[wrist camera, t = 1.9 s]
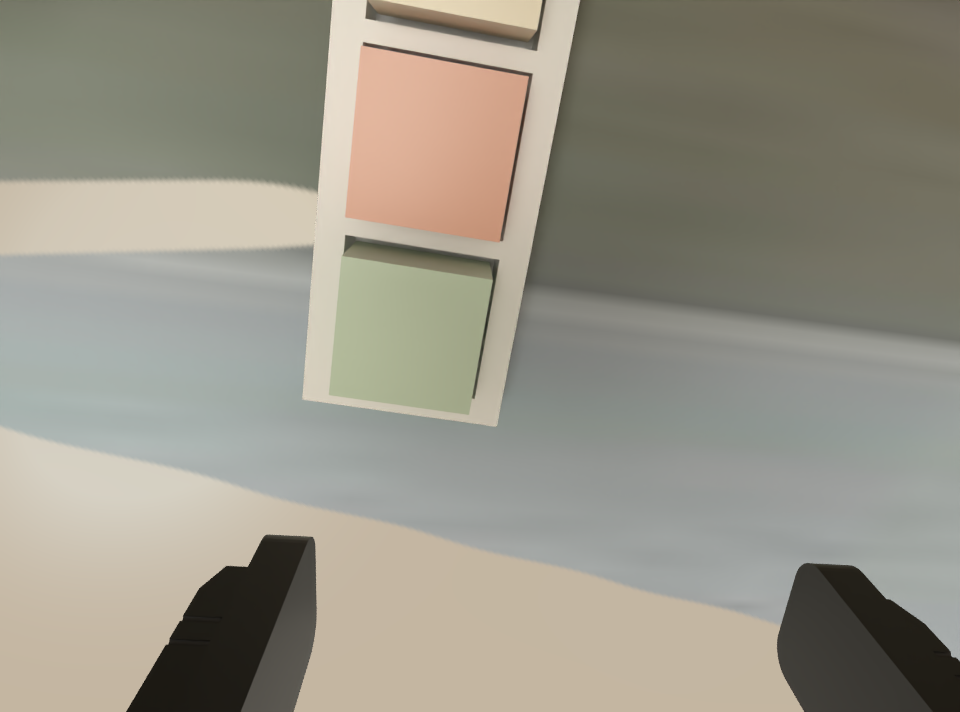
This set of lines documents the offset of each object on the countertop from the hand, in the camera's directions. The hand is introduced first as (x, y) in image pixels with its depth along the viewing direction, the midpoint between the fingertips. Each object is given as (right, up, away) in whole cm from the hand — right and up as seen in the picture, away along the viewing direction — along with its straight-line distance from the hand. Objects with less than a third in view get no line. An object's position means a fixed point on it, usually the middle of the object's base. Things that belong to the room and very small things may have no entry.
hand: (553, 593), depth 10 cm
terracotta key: (-3, +12, +12) cm, 17 cm away
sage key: (-4, +6, +15) cm, 16 cm away
